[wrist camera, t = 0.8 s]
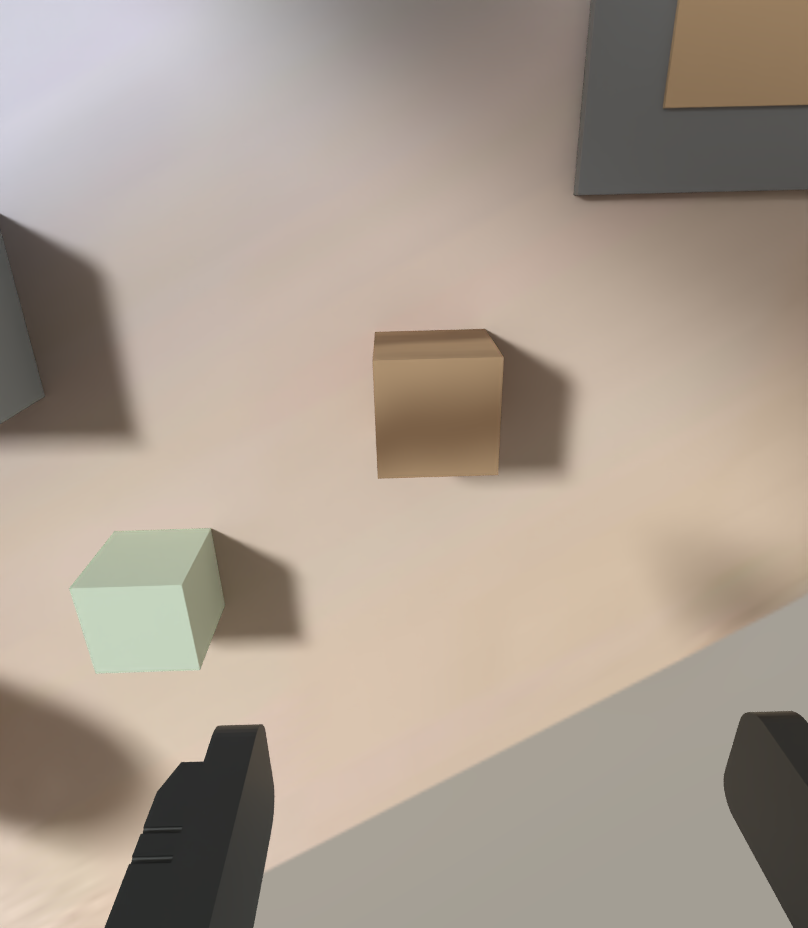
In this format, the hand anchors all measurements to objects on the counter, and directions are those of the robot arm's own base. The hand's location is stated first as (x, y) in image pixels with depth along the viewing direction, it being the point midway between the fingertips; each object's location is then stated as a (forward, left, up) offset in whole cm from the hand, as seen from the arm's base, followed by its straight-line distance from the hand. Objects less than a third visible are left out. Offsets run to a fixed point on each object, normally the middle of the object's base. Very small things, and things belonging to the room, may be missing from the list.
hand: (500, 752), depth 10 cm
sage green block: (+10, -14, -20) cm, 26 cm away
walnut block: (0, 0, -20) cm, 20 cm away
